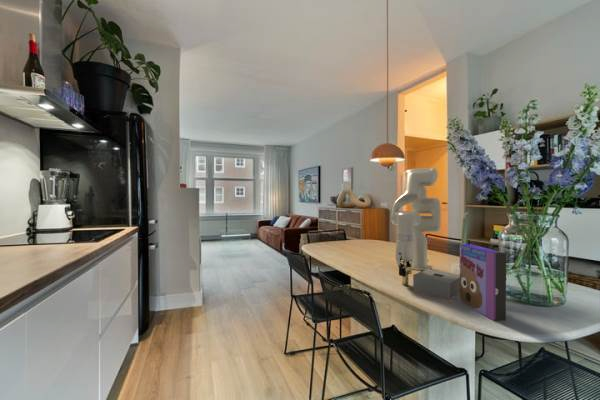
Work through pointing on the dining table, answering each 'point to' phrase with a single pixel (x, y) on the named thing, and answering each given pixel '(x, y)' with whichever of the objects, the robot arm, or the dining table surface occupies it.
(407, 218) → the robot arm
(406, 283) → the brass pin
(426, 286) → the block
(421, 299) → the dining table surface
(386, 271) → the dining table surface
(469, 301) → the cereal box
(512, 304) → the dining table surface
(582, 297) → the dining table surface
